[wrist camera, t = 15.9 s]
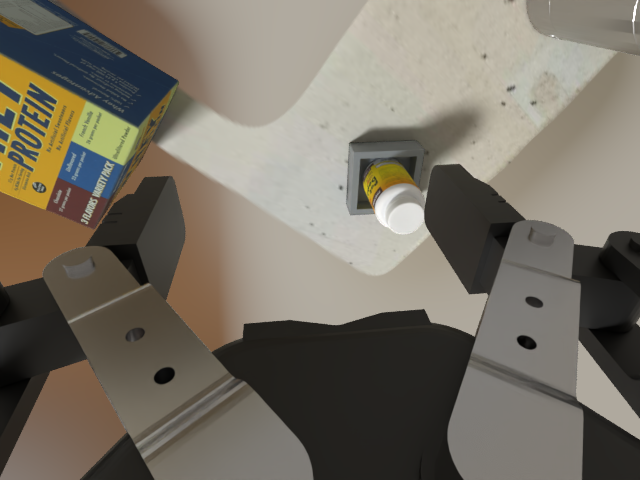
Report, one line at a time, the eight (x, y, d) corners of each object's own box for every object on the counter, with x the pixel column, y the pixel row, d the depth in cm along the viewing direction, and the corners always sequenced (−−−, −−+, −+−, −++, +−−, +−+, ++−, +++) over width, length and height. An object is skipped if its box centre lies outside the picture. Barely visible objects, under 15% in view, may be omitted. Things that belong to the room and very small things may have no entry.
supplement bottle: (361, 157, 46) (383, 197, 38) (406, 154, 47) (437, 193, 38) (359, 197, 49) (378, 242, 41) (401, 194, 50) (428, 239, 41)
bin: (349, 142, 46) (353, 152, 43) (416, 140, 47) (424, 149, 44) (346, 203, 51) (350, 215, 48) (407, 200, 52) (414, 211, 49)
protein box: (144, 159, 44) (95, 233, 32) (-10, 81, 38) (-147, 134, 25) (182, 80, 40) (143, 129, 27) (16, -22, 34) (-135, -21, 21)
